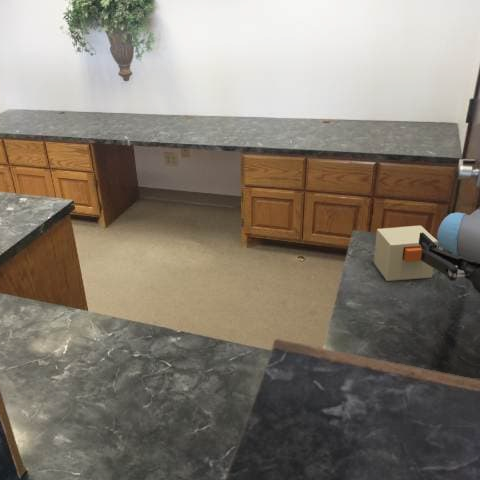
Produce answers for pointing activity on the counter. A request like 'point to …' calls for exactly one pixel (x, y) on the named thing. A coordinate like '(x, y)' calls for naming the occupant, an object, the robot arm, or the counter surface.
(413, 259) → the orange block
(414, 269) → the beige box with handle
